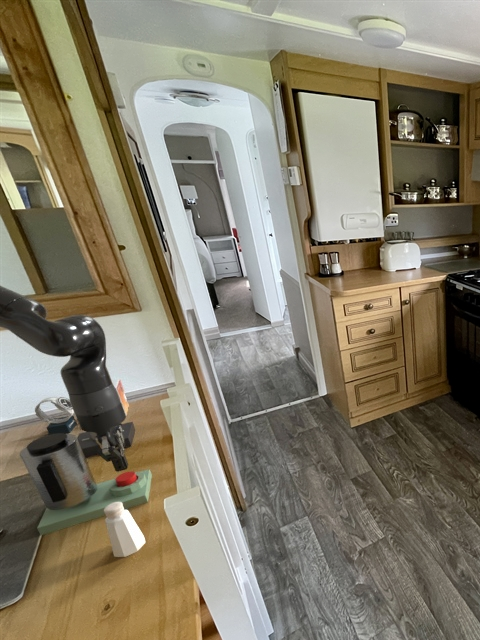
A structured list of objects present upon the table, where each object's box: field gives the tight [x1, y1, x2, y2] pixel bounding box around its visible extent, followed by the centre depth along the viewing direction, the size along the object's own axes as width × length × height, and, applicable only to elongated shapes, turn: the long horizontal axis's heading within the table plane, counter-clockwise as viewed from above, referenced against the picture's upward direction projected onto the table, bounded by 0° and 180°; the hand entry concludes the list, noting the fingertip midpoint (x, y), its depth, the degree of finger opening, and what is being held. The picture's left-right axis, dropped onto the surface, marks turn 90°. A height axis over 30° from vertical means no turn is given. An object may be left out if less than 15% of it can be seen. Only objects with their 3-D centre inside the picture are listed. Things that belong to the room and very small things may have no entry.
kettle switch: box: [114, 470, 137, 487], centre depth 90 cm, size 4×4×2 cm
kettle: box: [19, 433, 98, 510], centre depth 82 cm, size 8×10×15 cm
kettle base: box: [36, 468, 153, 536], centre depth 88 cm, size 18×11×4 cm, turn 124°
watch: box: [34, 396, 78, 435], centre depth 114 cm, size 6×8×11 cm
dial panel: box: [76, 421, 136, 459], centre depth 109 cm, size 12×10×3 cm
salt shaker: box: [104, 502, 147, 558], centre depth 76 cm, size 5×5×11 cm
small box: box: [112, 379, 130, 417], centre depth 123 cm, size 8×6×10 cm
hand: (122, 468), depth 89 cm, fingers closed
